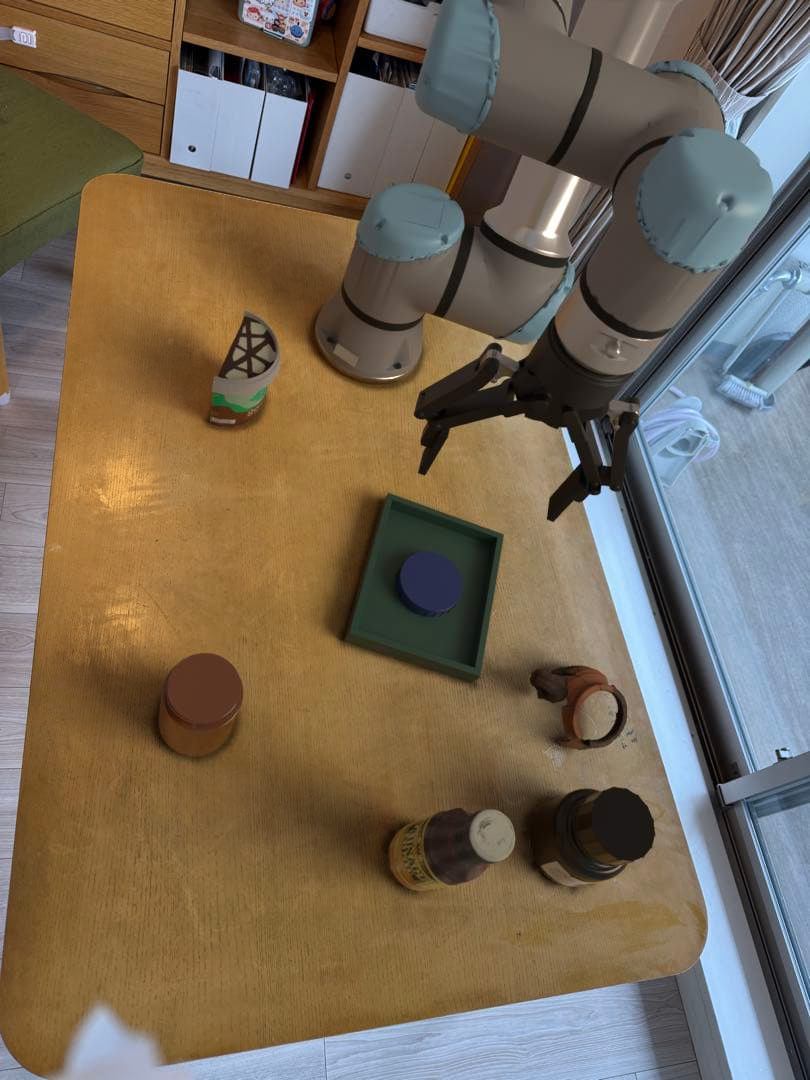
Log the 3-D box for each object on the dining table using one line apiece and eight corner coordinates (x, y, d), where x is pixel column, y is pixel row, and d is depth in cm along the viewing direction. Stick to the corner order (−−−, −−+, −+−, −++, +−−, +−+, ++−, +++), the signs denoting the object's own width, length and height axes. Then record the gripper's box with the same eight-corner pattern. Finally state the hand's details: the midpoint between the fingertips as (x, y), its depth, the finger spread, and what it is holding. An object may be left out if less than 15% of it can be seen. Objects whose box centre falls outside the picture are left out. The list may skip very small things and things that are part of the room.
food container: (254, 449, 95) (266, 398, 87) (205, 432, 94) (212, 379, 86) (282, 378, 102) (295, 325, 93) (236, 362, 101) (246, 306, 92)
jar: (174, 676, 79) (179, 638, 70) (242, 697, 80) (256, 662, 71) (147, 744, 75) (149, 712, 66) (218, 765, 76) (230, 737, 67)
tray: (382, 503, 97) (387, 492, 95) (496, 543, 99) (504, 534, 97) (343, 641, 86) (348, 632, 84) (472, 683, 89) (480, 676, 86)
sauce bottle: (382, 827, 78) (449, 786, 61) (440, 824, 80) (520, 784, 63) (386, 898, 75) (459, 875, 58) (447, 894, 77) (533, 870, 60)
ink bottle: (537, 897, 79) (595, 885, 69) (513, 808, 83) (565, 785, 73) (616, 876, 83) (682, 862, 73) (589, 792, 86) (648, 767, 76)
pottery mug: (601, 676, 95) (646, 691, 87) (571, 748, 94) (614, 769, 86) (525, 638, 90) (565, 650, 83) (493, 714, 89) (531, 733, 82)
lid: (451, 626, 91) (457, 620, 89) (388, 605, 90) (393, 598, 88) (462, 570, 95) (468, 563, 93) (402, 549, 94) (407, 541, 92)
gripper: (433, 313, 54) (359, 474, 72) (742, 435, 58) (599, 559, 76) (451, 246, 58) (377, 414, 76) (739, 364, 62) (605, 498, 80)
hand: (488, 487), depth 76 cm, fingers open, 13 cm apart
